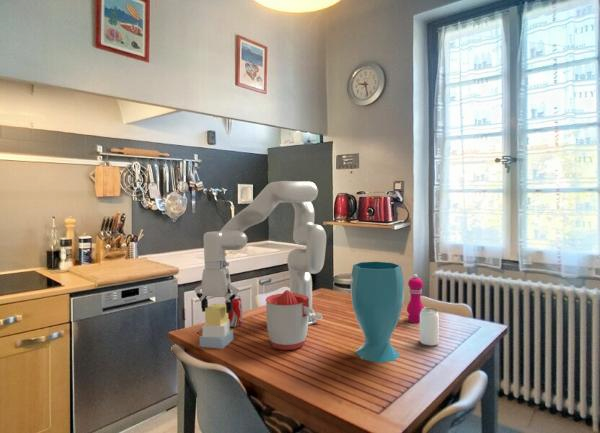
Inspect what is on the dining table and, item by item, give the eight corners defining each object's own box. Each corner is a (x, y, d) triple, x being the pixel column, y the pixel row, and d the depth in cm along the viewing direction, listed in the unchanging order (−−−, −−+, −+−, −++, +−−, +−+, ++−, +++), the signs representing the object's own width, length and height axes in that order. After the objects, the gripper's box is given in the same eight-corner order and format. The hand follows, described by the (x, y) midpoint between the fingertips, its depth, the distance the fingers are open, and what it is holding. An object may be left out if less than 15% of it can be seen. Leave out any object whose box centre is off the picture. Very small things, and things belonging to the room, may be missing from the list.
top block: (229, 329, 139) (229, 318, 139) (224, 337, 131) (224, 326, 131) (208, 329, 139) (208, 319, 139) (202, 337, 131) (202, 326, 131)
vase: (394, 368, 112) (393, 271, 111) (343, 356, 121) (342, 267, 120) (409, 349, 127) (409, 263, 126) (363, 339, 136) (362, 259, 135)
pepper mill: (406, 321, 155) (405, 275, 155) (407, 316, 162) (407, 272, 161) (423, 323, 153) (423, 276, 152) (424, 318, 159) (424, 273, 159)
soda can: (238, 328, 151) (238, 299, 150) (222, 327, 152) (222, 298, 152) (244, 322, 158) (244, 295, 157) (229, 321, 159) (228, 294, 158)
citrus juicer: (305, 356, 122) (304, 297, 121) (258, 350, 128) (257, 293, 127) (319, 339, 137) (318, 286, 136) (276, 334, 143) (276, 284, 142)
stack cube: (228, 320, 137) (228, 305, 136) (220, 326, 131) (219, 309, 131) (214, 319, 139) (213, 303, 138) (205, 324, 133) (205, 308, 133)
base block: (233, 340, 138) (233, 330, 138) (222, 349, 130) (222, 338, 130) (212, 338, 141) (211, 328, 141) (199, 347, 132) (199, 336, 132)
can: (429, 347, 128) (429, 313, 128) (415, 341, 134) (415, 309, 133) (442, 343, 131) (442, 310, 131) (428, 338, 137) (428, 306, 136)
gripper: (241, 263, 135) (242, 309, 136) (199, 263, 139) (200, 307, 140) (232, 267, 128) (234, 315, 129) (188, 266, 132) (190, 313, 133)
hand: (217, 311), depth 135 cm, fingers open, 9 cm apart
